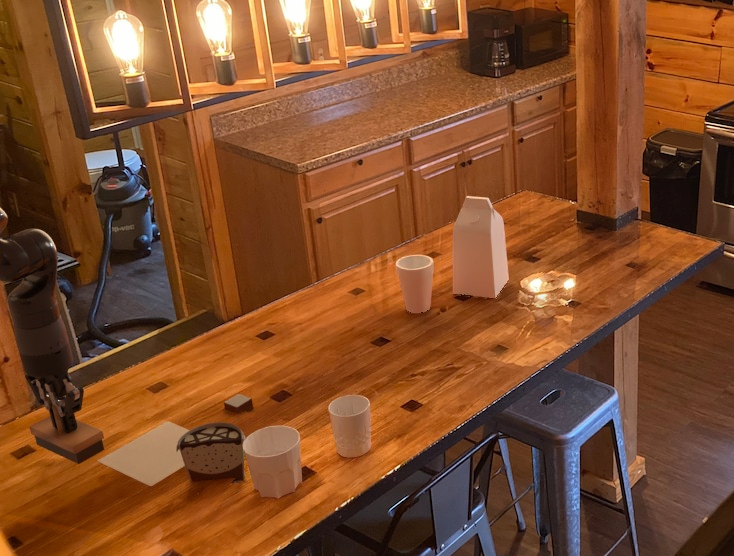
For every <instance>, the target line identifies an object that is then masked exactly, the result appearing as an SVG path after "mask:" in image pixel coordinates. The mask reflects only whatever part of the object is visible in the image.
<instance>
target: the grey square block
mask: <svg viewBox="0 0 734 556" xmlns="http://www.w3.org/2000/svg"><path fill="white" fill-rule="evenodd" d="M223 406H224V409H225V410H226V411H227V410H228V411H230V412H232V413H235V414H237V415H238V414H240V413H242V412H247V413H248V412H251V411H252V410H253V409H254V403H253V399H252V397H248V396H246V395H243V394H241V393H237V394H236V395H234V396H232V397H231V398H229V399H227V400H226V401H224V402H223Z"/></svg>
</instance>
